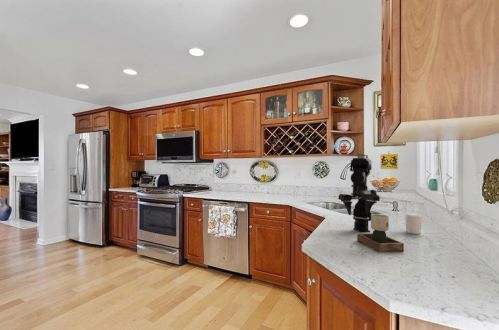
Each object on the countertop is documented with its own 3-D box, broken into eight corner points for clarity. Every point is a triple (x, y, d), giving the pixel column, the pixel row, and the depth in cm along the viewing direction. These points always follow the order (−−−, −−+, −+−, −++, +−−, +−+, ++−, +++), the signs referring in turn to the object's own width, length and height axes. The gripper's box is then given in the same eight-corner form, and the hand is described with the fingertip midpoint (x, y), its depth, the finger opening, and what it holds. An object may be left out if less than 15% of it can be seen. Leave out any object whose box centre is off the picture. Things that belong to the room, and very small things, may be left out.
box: (379, 240, 119) (379, 233, 119) (403, 251, 104) (403, 243, 104) (357, 240, 118) (357, 233, 118) (378, 252, 102) (378, 243, 102)
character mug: (390, 248, 105) (391, 218, 105) (372, 246, 107) (372, 216, 107) (385, 241, 115) (386, 214, 115) (368, 239, 117) (369, 212, 117)
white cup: (401, 230, 139) (401, 213, 139) (412, 230, 141) (413, 213, 141) (413, 234, 132) (414, 216, 132) (425, 234, 134) (425, 215, 134)
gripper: (350, 184, 111) (349, 218, 111) (387, 184, 114) (387, 218, 114) (338, 182, 122) (337, 213, 122) (372, 183, 125) (372, 213, 125)
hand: (358, 215), depth 120 cm, fingers open, 9 cm apart
